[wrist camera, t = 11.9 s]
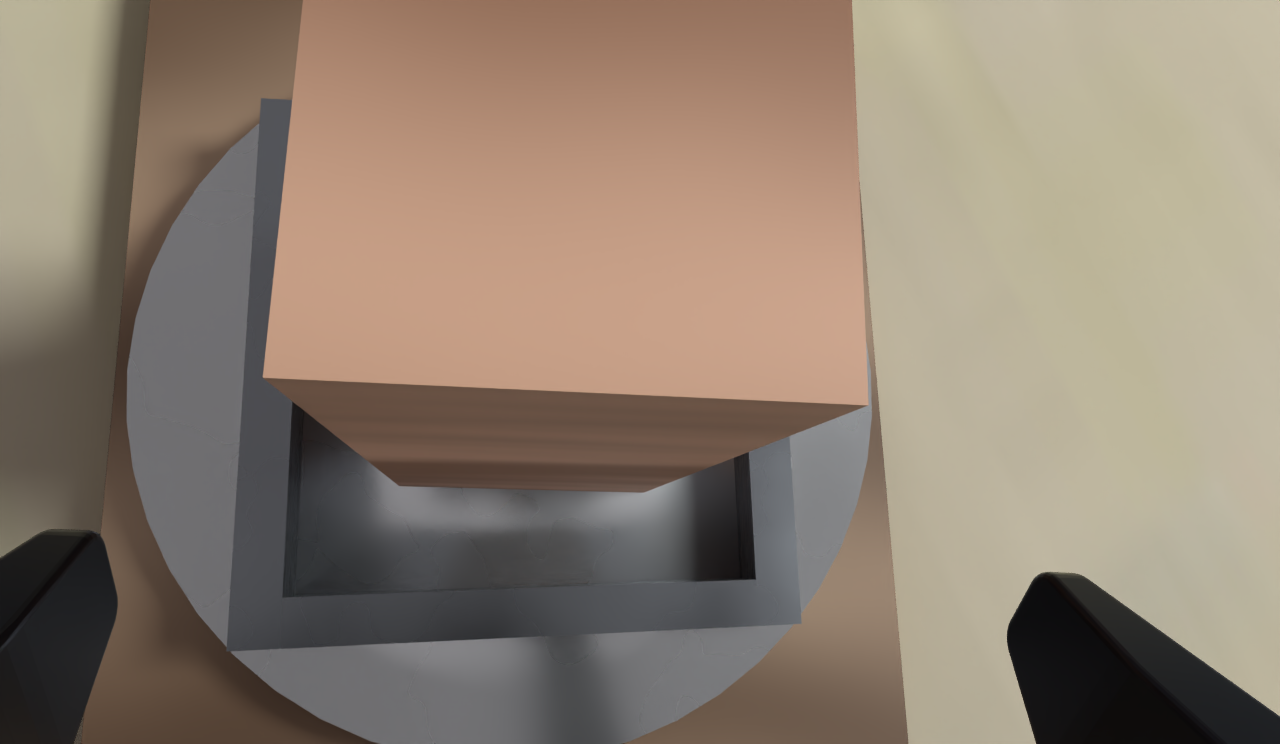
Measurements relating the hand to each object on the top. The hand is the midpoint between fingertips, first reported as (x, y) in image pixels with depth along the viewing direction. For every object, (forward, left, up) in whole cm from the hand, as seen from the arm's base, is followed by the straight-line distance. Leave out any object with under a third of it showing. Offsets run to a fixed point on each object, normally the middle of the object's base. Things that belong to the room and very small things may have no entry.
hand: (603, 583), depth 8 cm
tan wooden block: (+4, 0, -8) cm, 9 cm away
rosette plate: (+4, 0, -9) cm, 10 cm away
